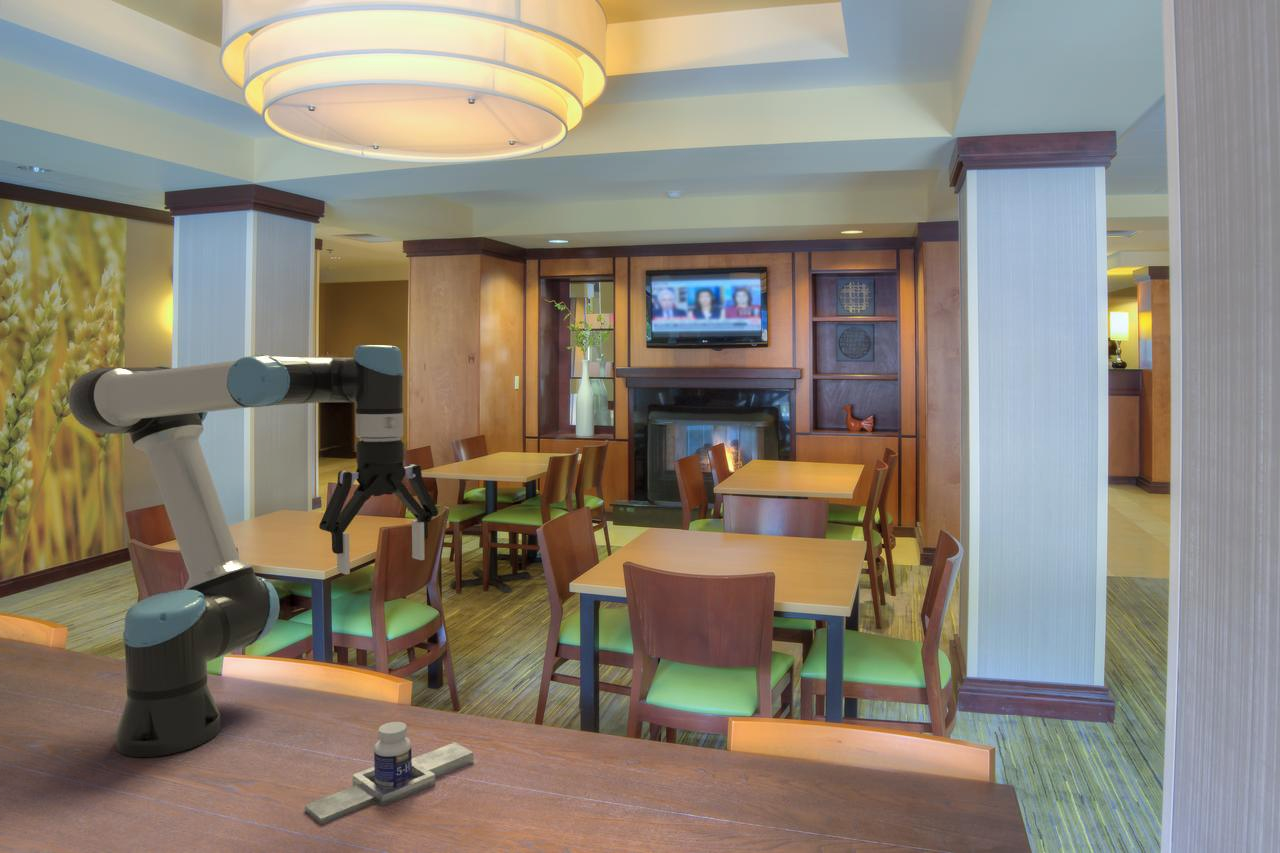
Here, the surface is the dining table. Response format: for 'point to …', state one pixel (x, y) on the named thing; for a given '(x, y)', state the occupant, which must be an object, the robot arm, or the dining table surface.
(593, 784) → the dining table surface
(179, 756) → the dining table surface
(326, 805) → the square frame bracket
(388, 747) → the pill bottle
